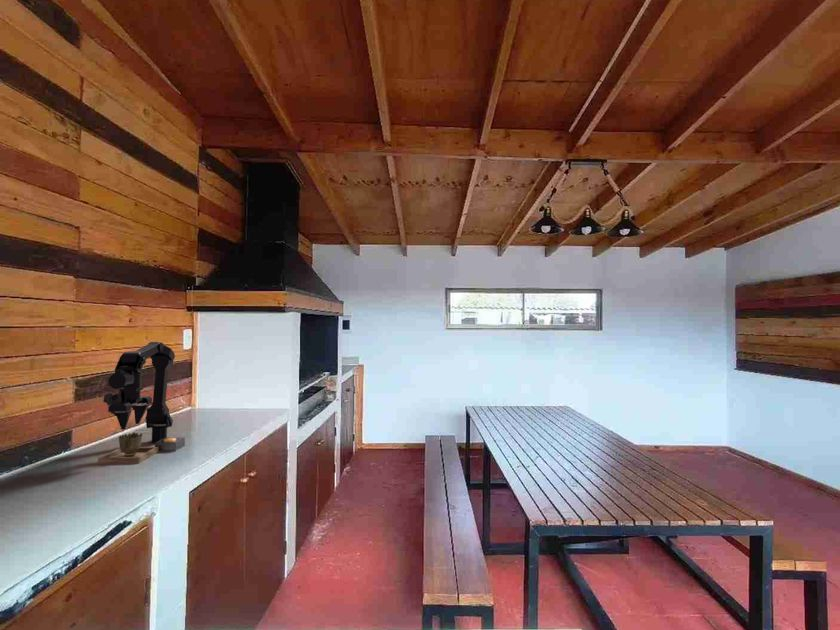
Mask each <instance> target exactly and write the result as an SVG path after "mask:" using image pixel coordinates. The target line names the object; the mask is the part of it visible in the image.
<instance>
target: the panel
mask: <svg viewBox="0 0 840 630" xmlns="http://www.w3.org/2000/svg"><path fill="white" fill-rule="evenodd" d="M167 438H168V437H167ZM167 438H163V439H161V440H159V441H157V442H155V443H154V447H159V451H162V452H177V451H178V449H179V450H180V449H181V447H182V448H183V446H184V447H185V446H186V444H185V443H186V437H185V436H184V437H182V436H181V437H174V436H173V437H172V438H176V441H174V442H164V439H167ZM176 450H177V451H176Z"/></svg>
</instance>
